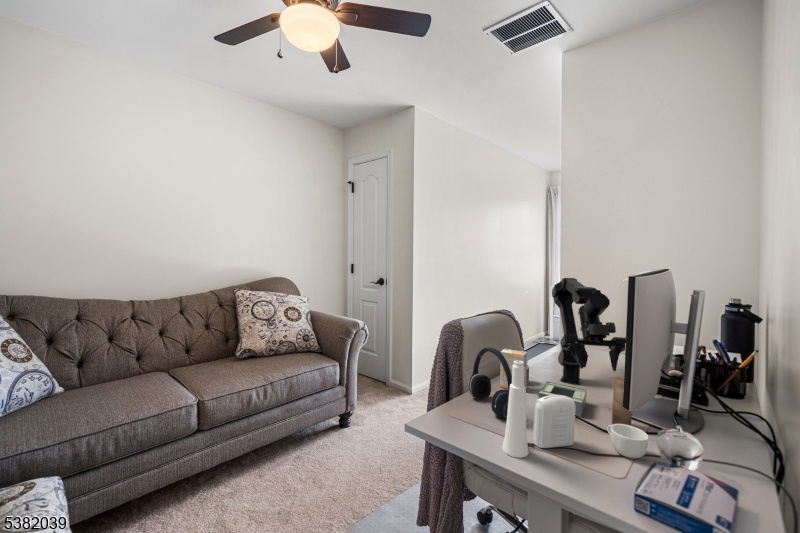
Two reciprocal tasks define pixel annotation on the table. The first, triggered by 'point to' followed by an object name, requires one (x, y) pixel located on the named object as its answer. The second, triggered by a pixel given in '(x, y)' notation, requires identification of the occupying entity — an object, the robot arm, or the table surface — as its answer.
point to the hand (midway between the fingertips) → (598, 369)
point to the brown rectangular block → (620, 404)
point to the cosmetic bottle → (516, 415)
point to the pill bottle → (527, 375)
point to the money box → (566, 394)
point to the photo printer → (554, 421)
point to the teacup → (628, 440)
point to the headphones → (482, 385)
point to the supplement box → (510, 358)
